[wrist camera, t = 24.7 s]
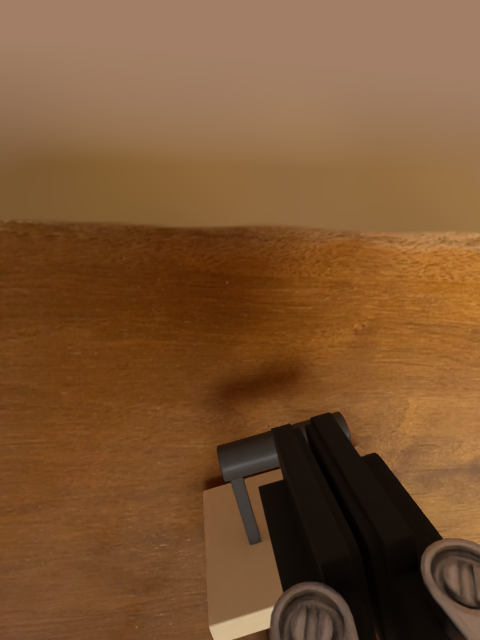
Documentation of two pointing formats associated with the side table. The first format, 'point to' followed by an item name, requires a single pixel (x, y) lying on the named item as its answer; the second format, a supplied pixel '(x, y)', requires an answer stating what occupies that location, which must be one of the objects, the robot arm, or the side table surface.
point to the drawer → (244, 539)
